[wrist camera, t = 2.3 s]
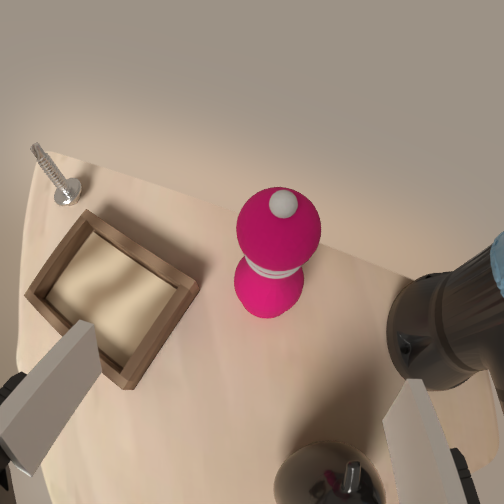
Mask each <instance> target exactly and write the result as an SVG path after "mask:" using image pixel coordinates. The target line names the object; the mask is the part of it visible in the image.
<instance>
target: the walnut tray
mask: <svg viewBox="0 0 504 504" xmlns="http://www.w3.org/2000/svg"><path fill="white" fill-rule="evenodd" d="M199 291H200V289H199V287H198V284H197V282H196V280H194V279H192V278H191V277H189V276H187V275H186V274H184V273H183V272H181V271H179V270H178V269H176V268H175V267H173V266H172V265H170V264H168V263H167V262H165V261H164V260H162V259H161V258H159V257H157V256H156V255H154V254H153V253H151V252H150V251H148V250H147V249H145V248H144V247H142V246H141V245H139V244H138V243H136V242H134V241H133V240H131V239H130V238H128V237H127V236H125V235H124V234H122V233H121V232H119V231H118V230H116V229H115V228H114V227H112V226H111V225H109V224H108V223H106V222H105V221H103V220H102V219H100V218H99V217H97V216H96V215H95V214H93V213H92V212H90V211H89V210H87V209H86V210H85V211H84V212H83V214H82V215H81V216H80V217H79V219H78V220H77V221H76V222H75V224H74V225H73V226H72V227H71V229H70V230H69V231H68V233H67V234H66V235H65V237H64V238H63V239H62V241H61V242H60V243H59V245H58V246H57V247H56V249H55V250H54V252H53V253H52V254H51V256H50V257H49V259H48V260H47V261H46V263H45V264H44V266H43V267H42V269H41V270H40V272H39V273H38V275H37V276H36V278H35V279H34V281H33V282H32V284H31V285H30V287H29V288H28V290H27V291H26V293H25V295H24V296H25V297H26V298H27V300H28V301H29V302H30V303H31V304H32V305H33V306H34V307H35V308H36V310H37V311H38V312H39V313H40V314H41V315H42V316H43V317H44V318H45V319H46V320H47V321H48V322H49V323H50V324H51V325H52V327H53V328H54V329H55V330H56V331H57V332H58V333H59V334H60V335H61V336H62V337H63V336H64V335H65V334H66V333H67V332H68V331H69V330H70V329H71V328H72V327H73V326H74V325H75V324H76V323H77V322H78V321H79V320H83V321H86V322H89V323H92V324H94V328H95V334H96V340H97V346H98V352H99V357H100V363H101V368H102V373H103V374H104V375H105V376H106V377H108V378H109V379H110V380H111V381H112V382H114V383H115V384H116V385H117V386H119V387H120V388H121V389H122V390H134V389H135V387H136V386H137V384H138V383H139V381H140V380H141V378H142V376H143V375H144V373H145V372H146V370H147V369H148V367H149V366H150V364H151V363H152V361H153V360H154V358H155V357H156V355H157V354H158V352H159V351H160V349H161V348H162V346H163V345H164V343H165V342H166V340H167V339H168V337H169V336H170V334H171V333H172V331H173V330H174V328H175V327H176V325H177V324H178V322H179V321H180V319H181V318H182V316H183V315H184V313H185V312H186V310H187V309H188V307H189V306H190V304H191V303H192V301H193V300H194V298H195V297H196V296H197V294H198V293H199Z"/></svg>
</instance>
